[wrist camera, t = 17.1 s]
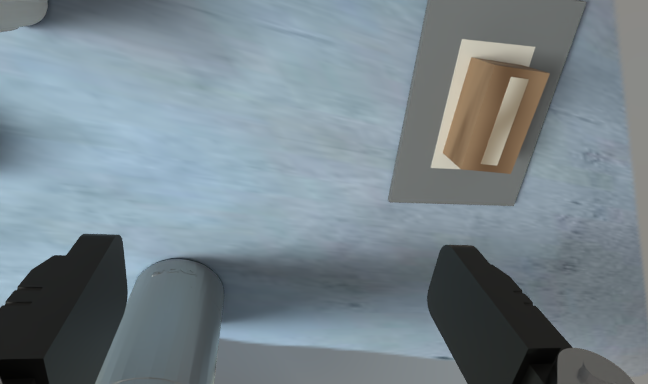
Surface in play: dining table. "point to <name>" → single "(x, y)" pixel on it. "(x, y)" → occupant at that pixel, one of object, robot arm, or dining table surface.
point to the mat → (447, 81)
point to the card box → (493, 115)
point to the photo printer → (21, 13)
